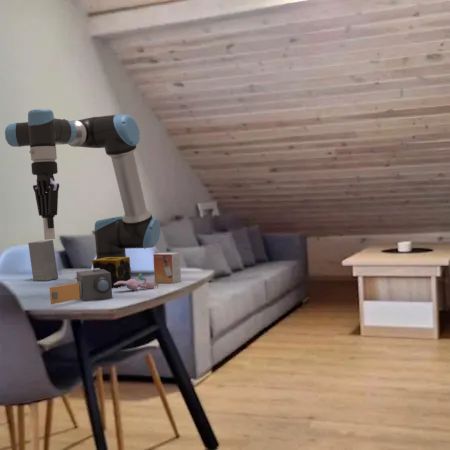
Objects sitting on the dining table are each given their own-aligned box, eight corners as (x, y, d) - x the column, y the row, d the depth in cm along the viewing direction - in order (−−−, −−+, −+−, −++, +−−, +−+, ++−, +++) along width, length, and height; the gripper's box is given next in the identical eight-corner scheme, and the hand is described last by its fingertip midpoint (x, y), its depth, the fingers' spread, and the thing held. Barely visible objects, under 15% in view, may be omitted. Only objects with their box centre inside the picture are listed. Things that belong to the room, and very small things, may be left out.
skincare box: (58, 278, 264) (55, 239, 263) (44, 281, 259) (41, 241, 258) (44, 278, 269) (42, 239, 268) (30, 280, 264) (27, 241, 263)
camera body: (77, 295, 217) (75, 269, 217) (105, 292, 221) (103, 266, 220) (84, 302, 204) (82, 274, 204) (113, 298, 207) (111, 271, 207)
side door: (81, 298, 207) (79, 281, 206) (84, 298, 205) (83, 281, 205) (50, 304, 198) (49, 286, 198) (54, 304, 197) (52, 286, 197)
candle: (92, 288, 234) (90, 260, 233) (107, 283, 243) (105, 256, 243) (118, 288, 230) (116, 259, 230) (131, 283, 240) (130, 256, 239)
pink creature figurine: (153, 290, 229) (111, 288, 223) (155, 273, 229) (113, 271, 223) (159, 293, 223) (115, 290, 217) (161, 275, 223) (117, 272, 217)
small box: (154, 283, 237) (152, 254, 237) (163, 280, 242) (161, 252, 242) (173, 283, 233) (171, 254, 233) (181, 281, 238) (179, 252, 238)
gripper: (23, 162, 201) (28, 239, 203) (42, 160, 191) (48, 241, 193) (45, 162, 206) (51, 237, 208) (65, 159, 196) (71, 238, 198)
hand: (49, 239), depth 200 cm, fingers closed
